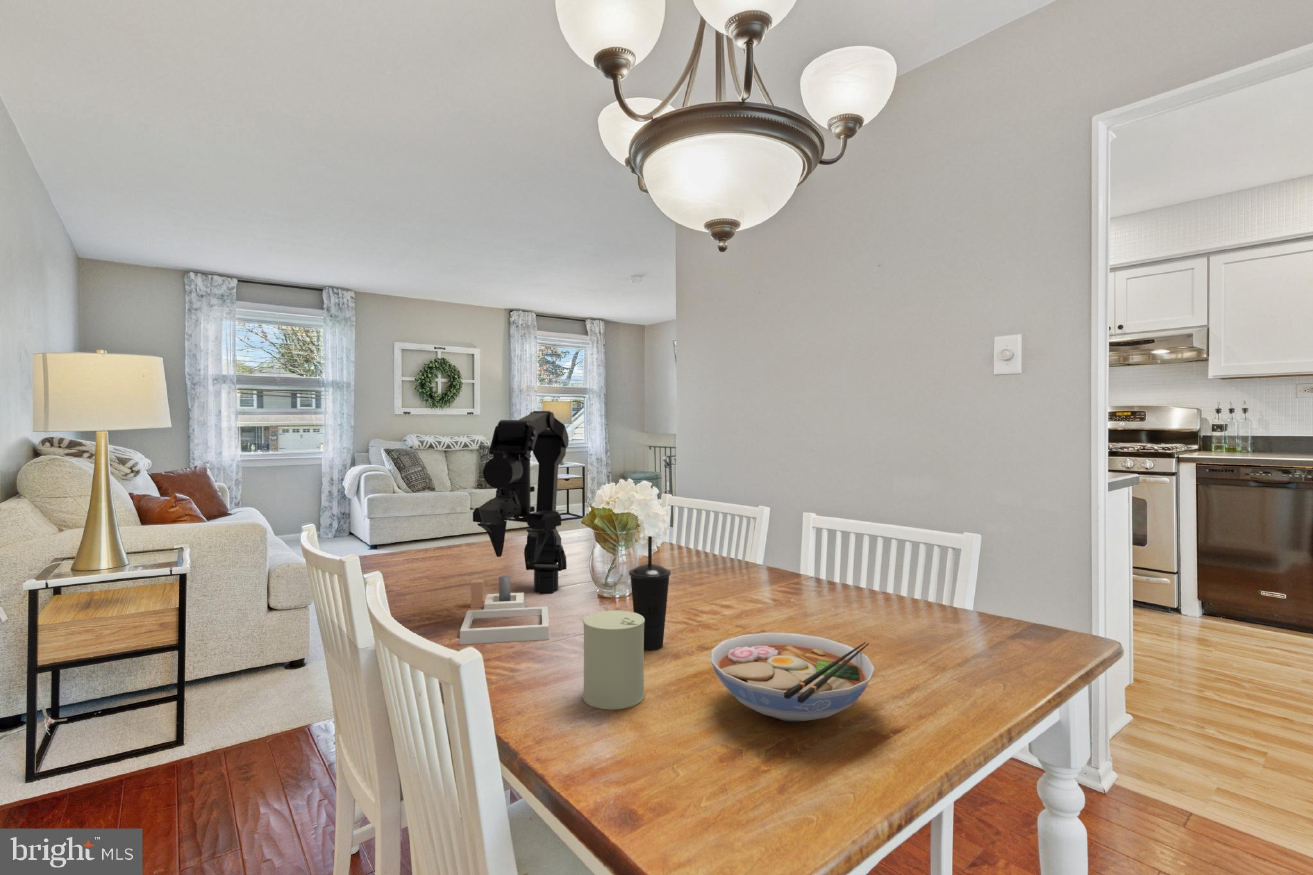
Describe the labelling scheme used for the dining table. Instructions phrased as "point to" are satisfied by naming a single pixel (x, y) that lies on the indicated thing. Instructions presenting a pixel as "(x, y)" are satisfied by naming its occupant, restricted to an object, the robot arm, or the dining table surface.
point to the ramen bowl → (792, 674)
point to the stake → (505, 590)
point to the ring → (493, 598)
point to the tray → (504, 632)
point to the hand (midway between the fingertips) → (516, 559)
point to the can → (613, 659)
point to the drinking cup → (651, 599)
